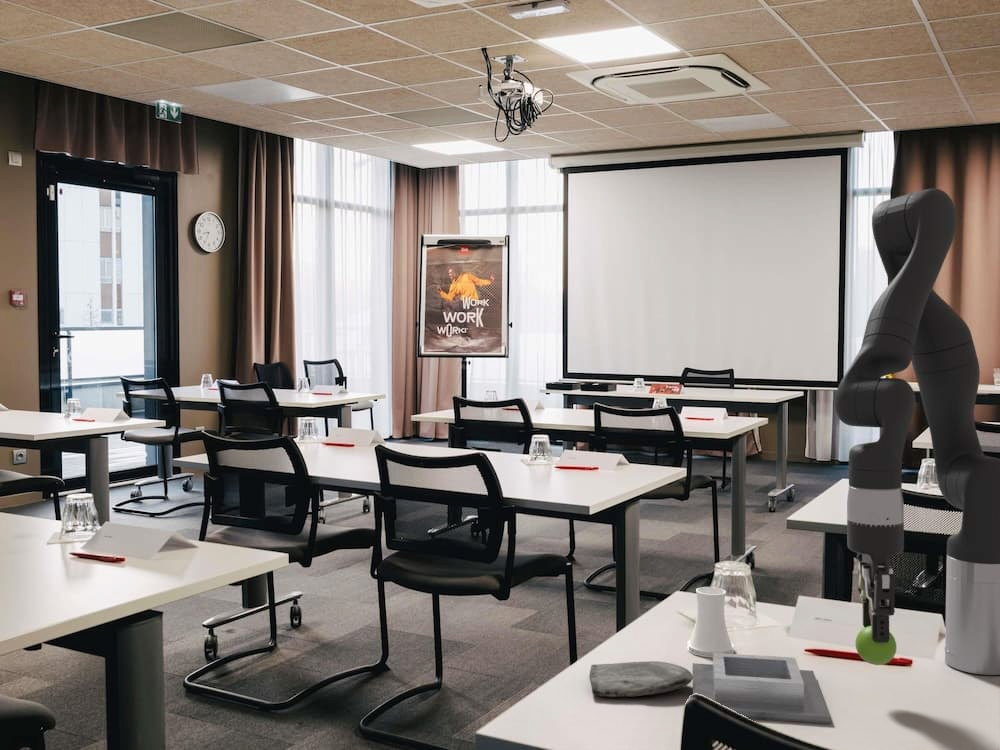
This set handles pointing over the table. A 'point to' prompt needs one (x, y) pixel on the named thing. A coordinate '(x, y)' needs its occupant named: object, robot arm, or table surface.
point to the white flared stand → (710, 624)
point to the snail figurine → (874, 646)
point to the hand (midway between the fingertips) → (875, 634)
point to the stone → (637, 678)
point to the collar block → (762, 687)
